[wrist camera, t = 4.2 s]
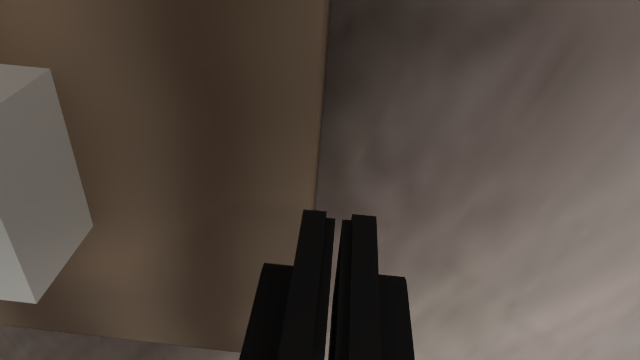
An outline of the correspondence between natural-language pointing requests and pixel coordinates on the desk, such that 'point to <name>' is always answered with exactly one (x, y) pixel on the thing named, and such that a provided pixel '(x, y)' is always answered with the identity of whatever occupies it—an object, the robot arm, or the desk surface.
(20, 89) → the tile cream
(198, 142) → the plate
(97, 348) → the desk surface
